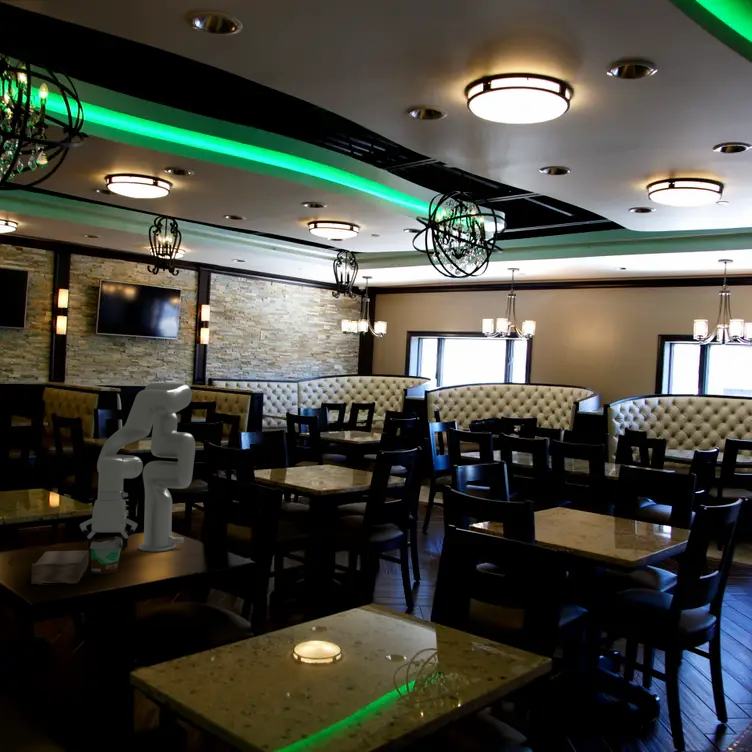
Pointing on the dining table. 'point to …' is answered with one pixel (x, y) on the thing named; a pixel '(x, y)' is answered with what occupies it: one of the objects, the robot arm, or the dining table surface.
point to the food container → (105, 556)
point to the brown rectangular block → (60, 567)
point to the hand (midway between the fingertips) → (107, 550)
